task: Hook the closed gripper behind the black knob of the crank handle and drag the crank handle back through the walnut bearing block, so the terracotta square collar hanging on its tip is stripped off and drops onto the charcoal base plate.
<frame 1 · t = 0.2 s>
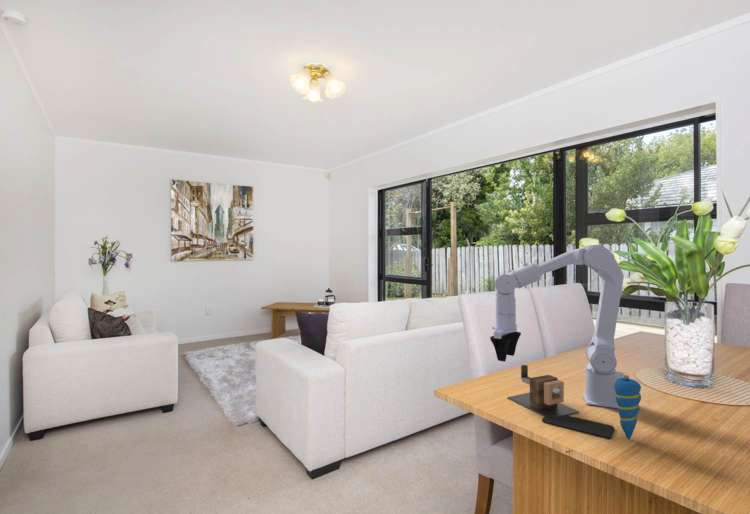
hand: (506, 357, 118), 10 cm above the table, tool pointing down, fingers open, 7 cm apart
phone: (577, 427, 95), on the table
crank handle: (539, 379, 107), point 7 cm above the table, slide at 0.0 cm, touching collar
ornament: (627, 439, 88), on the table
bearing block: (543, 406, 106), resting on base plate
collar: (553, 402, 103), point 2 cm above the table, touching crank handle
base plate: (541, 405, 107), on the table
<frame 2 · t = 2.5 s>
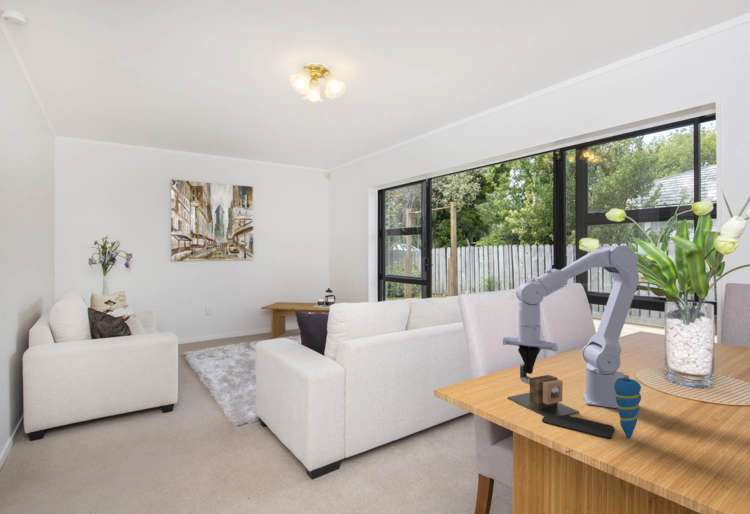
hand: (529, 372, 111), 8 cm above the table, tool pointing down, fingers closed
crank handle: (538, 379, 108), point 7 cm above the table, slide at 0.4 cm, touching collar, gripper
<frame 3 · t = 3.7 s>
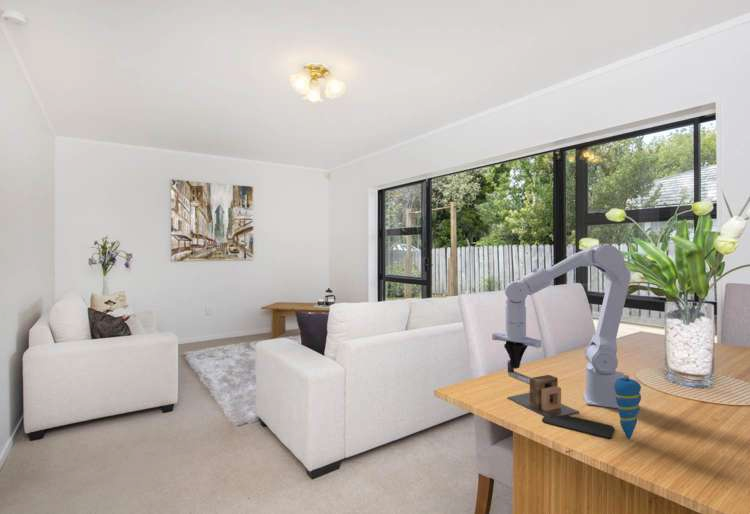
hand: (515, 367, 116), 8 cm above the table, tool pointing down, fingers closed
crank handle: (524, 373, 112), point 7 cm above the table, slide at 5.5 cm, touching gripper
collar: (551, 408, 104), resting on base plate
everything else where it was.
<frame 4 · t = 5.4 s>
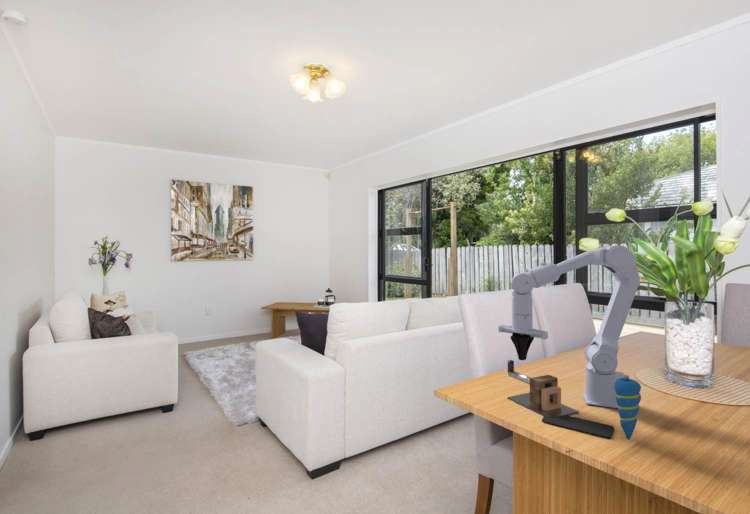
hand: (522, 359, 115), 10 cm above the table, tool pointing down, fingers closed
crank handle: (524, 373, 112), point 7 cm above the table, slide at 5.5 cm
everything else where it was.
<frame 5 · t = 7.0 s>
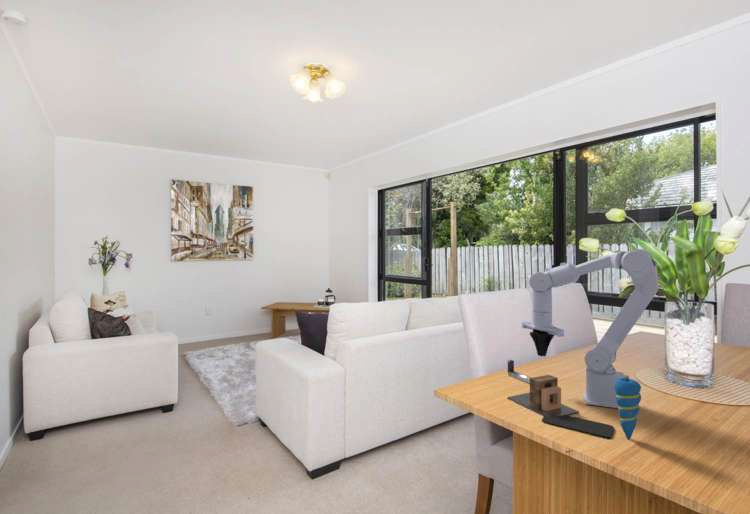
hand: (541, 355, 119), 10 cm above the table, tool pointing down, fingers closed
nothing on the table moved.
at the end: crank handle slide at 5.5 cm; collar resting on base plate; collar touching base plate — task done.
